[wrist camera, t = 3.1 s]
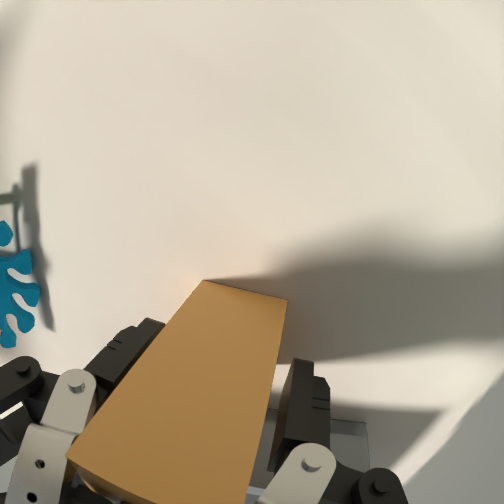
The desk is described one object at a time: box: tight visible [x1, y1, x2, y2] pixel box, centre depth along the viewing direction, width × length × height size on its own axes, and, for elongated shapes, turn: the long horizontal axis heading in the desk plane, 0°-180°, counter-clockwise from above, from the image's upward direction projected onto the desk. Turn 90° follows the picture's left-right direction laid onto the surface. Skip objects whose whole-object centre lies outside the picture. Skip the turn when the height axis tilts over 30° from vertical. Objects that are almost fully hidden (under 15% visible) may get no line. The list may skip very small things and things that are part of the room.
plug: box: [64, 280, 288, 504], centre depth 8 cm, size 4×4×11 cm
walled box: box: [244, 408, 370, 504], centre depth 14 cm, size 18×16×7 cm
